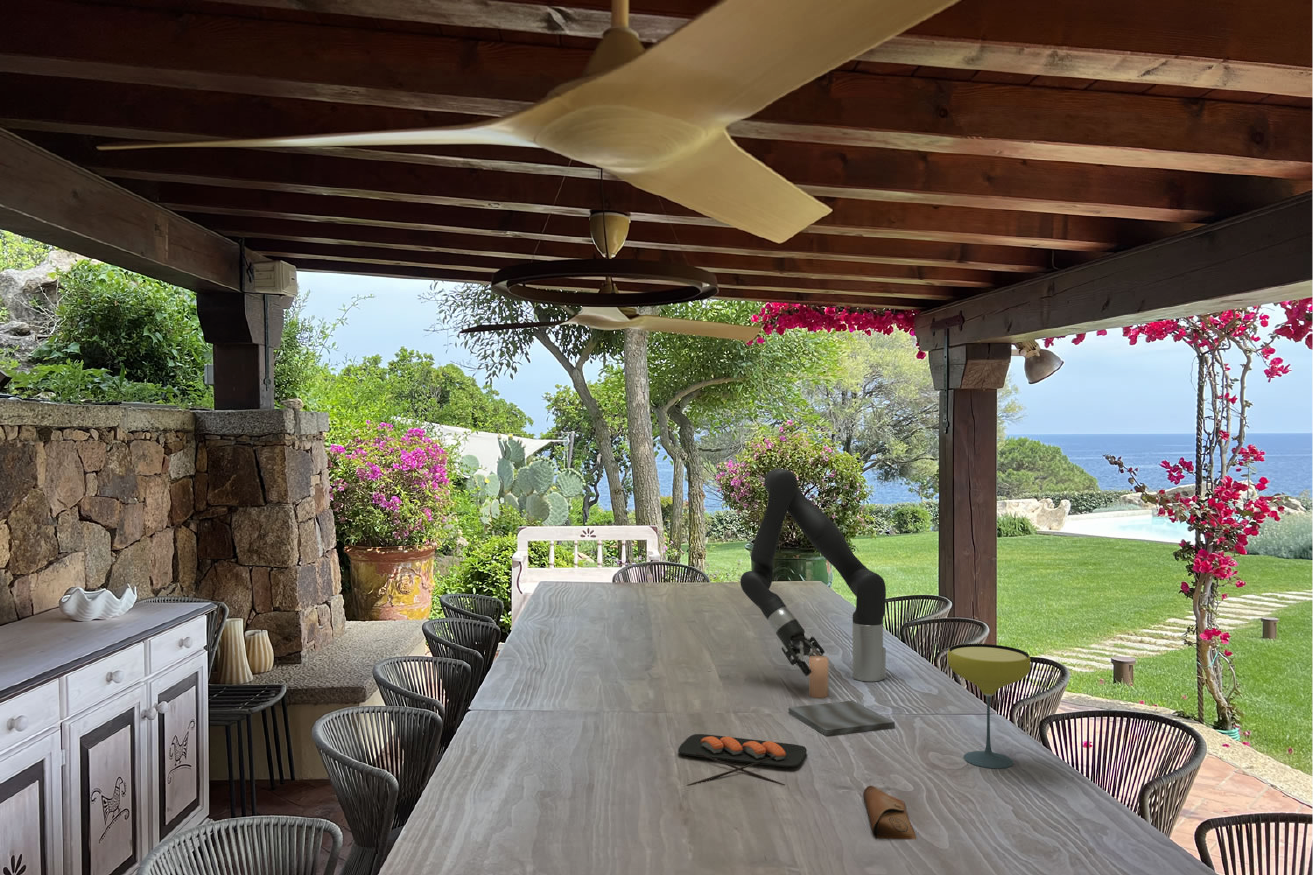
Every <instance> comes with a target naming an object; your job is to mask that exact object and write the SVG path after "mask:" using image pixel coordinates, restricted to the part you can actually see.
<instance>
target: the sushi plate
mask: <svg viewBox="0 0 1313 875" xmlns="http://www.w3.org/2000/svg"><path fill="white" fill-rule="evenodd" d="M807 751H808V750H807V747H806V746H804V745H800V744H793V743H785V742H776V741H770V740H768V741H767V740H758V739H750V738H741V737H733V736H725V735H715V734H706V733H705V734H704V733H694V734H691V735H690V736H689V737H687V738H686V739H685V740H684V741H683V742H682V743H681V744H680V746H679V747H678V749H677V752H678V754H681V755H684V756H692V757H699V758H707V759H709V760H712V761H715V762H716V763H720V764H722V765H725V766H728V767H731V768H733V770H729V771H725V772H723V773H722V772H721V773H719V774H716V775H714V776H709V777H707V778H704V779H701V780H697V781H694V782H691V783H689V784H686V786H693V785H698V784H702V783H701V782H703V783H706V781H707V782H710V781H709V780H711V781H713V780H716V779H719V778H721V777H724V776H727V775H729V774H732V773H735V772H739V771H741V772H742V773H745V774H748V775H751V776H753V777H754V778H755V777H756V778H757V779H761V780H763V781H767V782H771V783H774V784H778V785H780V786H784V787H785V786H786V784H784V783H782V782H780V781H777V780H774V779H773V778H772V779H771V778H770V777H766V776H763V775H761V774H758V773H754V772H752V771H751V770H746V768H749V767H753V766H754V765H763V766H771V767H778V768H779V767H780V768H796V767H798V766H799V765H800V764H801V763H802V762H803V760H804V759H805V756H806V754H807ZM725 761H730V762H731V761H732V762H739V763H747V765H743V766H741V767H738V766H735V765H734V764H733V765H732V764H730V763H728V762H725ZM697 783H698V784H697Z"/></svg>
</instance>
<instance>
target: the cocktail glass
mask: <svg viewBox="0 0 1313 875" xmlns="http://www.w3.org/2000/svg"><path fill="white" fill-rule="evenodd" d="M946 656H947V663H948V667H949V668H950V669H951V670H952V671H953V672H954V673H955V674H956V675H957V676H959V677H960V678H963V679H964V680H965V681H968V682H970V683H972V684H973V685H975V686H976V687H978V689H980V691H981V693H982V694H983V695H984V696H986V741H985V742H986V743H985V744H986V745H985V750H975V751H969V752H966V753H964V755H963V759H964V760H965V762H967V763H969V764H970V765H973V766H976V767H980V768H985V769H996V770H997V769H999V770H1000V769H1001V770H1002V769H1007V768H1010V767H1012V766H1013V765H1014V760H1013V759H1012V758H1011V757H1009V756H1007V755H1005V754H1002V753H999V752H994V751H992V747H991V746H992V744H991V715H990V714H991V709H990V708H991V697H992V696H994V695H995V694H996V693H997V691H998V690H999V689H1002V688H1003V687H1006V686H1009V685H1011V684H1014V683H1017V682H1018V681H1021V680H1023V679H1024V678H1025V677H1026V676H1028V675H1029V674H1030V671H1031V666H1032V665H1031V663H1032V662H1031V655H1030V654H1029V653H1028V652H1026V651H1024V650H1022V649H1018V648H1016V647H1011V646H1006V645H1001V644H992V643H990V644H989V643H962V644H955V645H952V646H950V647H949V648H948V650H947V655H946Z"/></svg>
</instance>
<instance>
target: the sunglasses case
mask: <svg viewBox="0 0 1313 875" xmlns="http://www.w3.org/2000/svg"><path fill="white" fill-rule="evenodd" d="M862 797H863V801H864V804H865V809H866V813H867V816H868V820H869V823H870V825H869V826H870V829H871V832H872V835H873V836H874V837H875V839H887V840H889V839H890V840H891V839H892V840H895V839H897V840H917V836H916V833H915V831H914V827H913V825H912V823H911V821H910V818H909V815H908V812H907V807H906V802H905V801H903V800H901V799H899V798H897V797H894V796H892V795H889V794H888V793H887V792H885V791H883V790H882V789H880V788H878V787H876V786H873V785H867V787H865V788H864V790H863V793H862Z"/></svg>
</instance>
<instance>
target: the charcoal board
mask: <svg viewBox="0 0 1313 875" xmlns="http://www.w3.org/2000/svg"><path fill="white" fill-rule="evenodd" d="M788 714H790V715H791V716H792V717H794V718H795V719H797V718H798V720H800V721H801V722H802V723H804V724H806V725H807V726H808V727H810V728H812V729H814V730H815V731H817V732H818V733H821V734H822V735H823V736H825V737H829V736H839V735H845V734H847V735H848V734H856V733H863V732H871V731H878V730H879V731H880V730H888V729H889V730H890V729H895V726H896V725H895V721H894V720H892V719H890V718H888V717H886V716H884V715H882V714H880V713H878V712H876V711H874V710H872V709H870V708H868V707H866V706H864V705H862V704H860V703H859V702H857V701H854V700H847V701H835V702H827V703H820V704H819V703H818V704H808V705H800V706H799V705H798V706H790V707H788Z"/></svg>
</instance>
